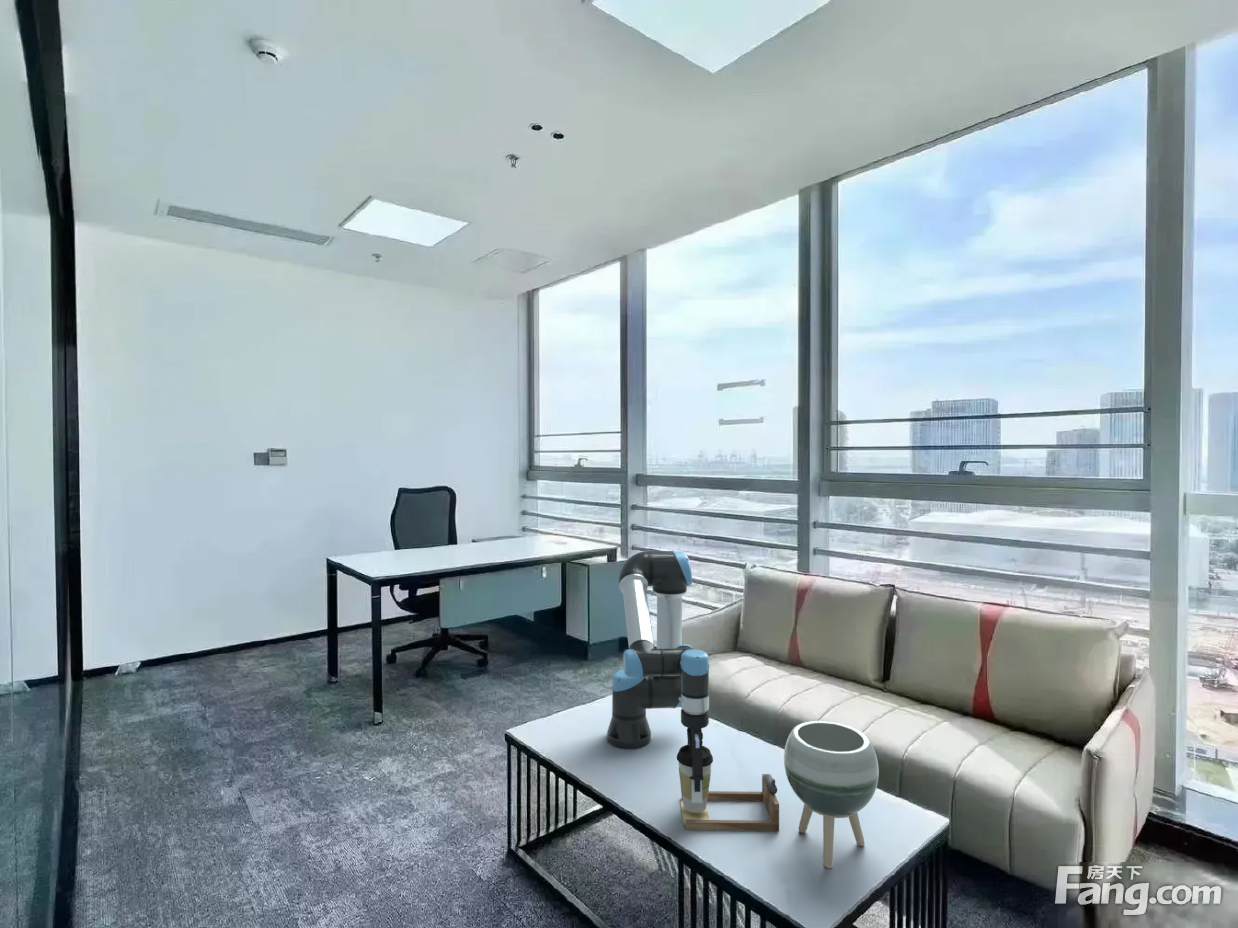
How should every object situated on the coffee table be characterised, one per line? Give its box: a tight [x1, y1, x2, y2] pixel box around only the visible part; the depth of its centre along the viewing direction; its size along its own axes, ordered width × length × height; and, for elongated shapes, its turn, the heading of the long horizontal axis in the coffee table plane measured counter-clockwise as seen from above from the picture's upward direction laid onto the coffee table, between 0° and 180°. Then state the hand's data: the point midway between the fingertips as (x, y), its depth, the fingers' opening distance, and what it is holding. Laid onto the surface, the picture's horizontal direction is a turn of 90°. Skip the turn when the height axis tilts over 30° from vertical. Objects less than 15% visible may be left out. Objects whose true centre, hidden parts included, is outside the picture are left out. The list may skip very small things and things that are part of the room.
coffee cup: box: [676, 744, 714, 813], centre depth 167 cm, size 10×10×15 cm
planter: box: [783, 720, 880, 869], centre depth 153 cm, size 22×22×28 cm
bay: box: [679, 773, 780, 832], centre depth 167 cm, size 15×25×11 cm, turn 89°
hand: (694, 790), depth 167 cm, fingers closed on coffee cup, 10 cm apart
